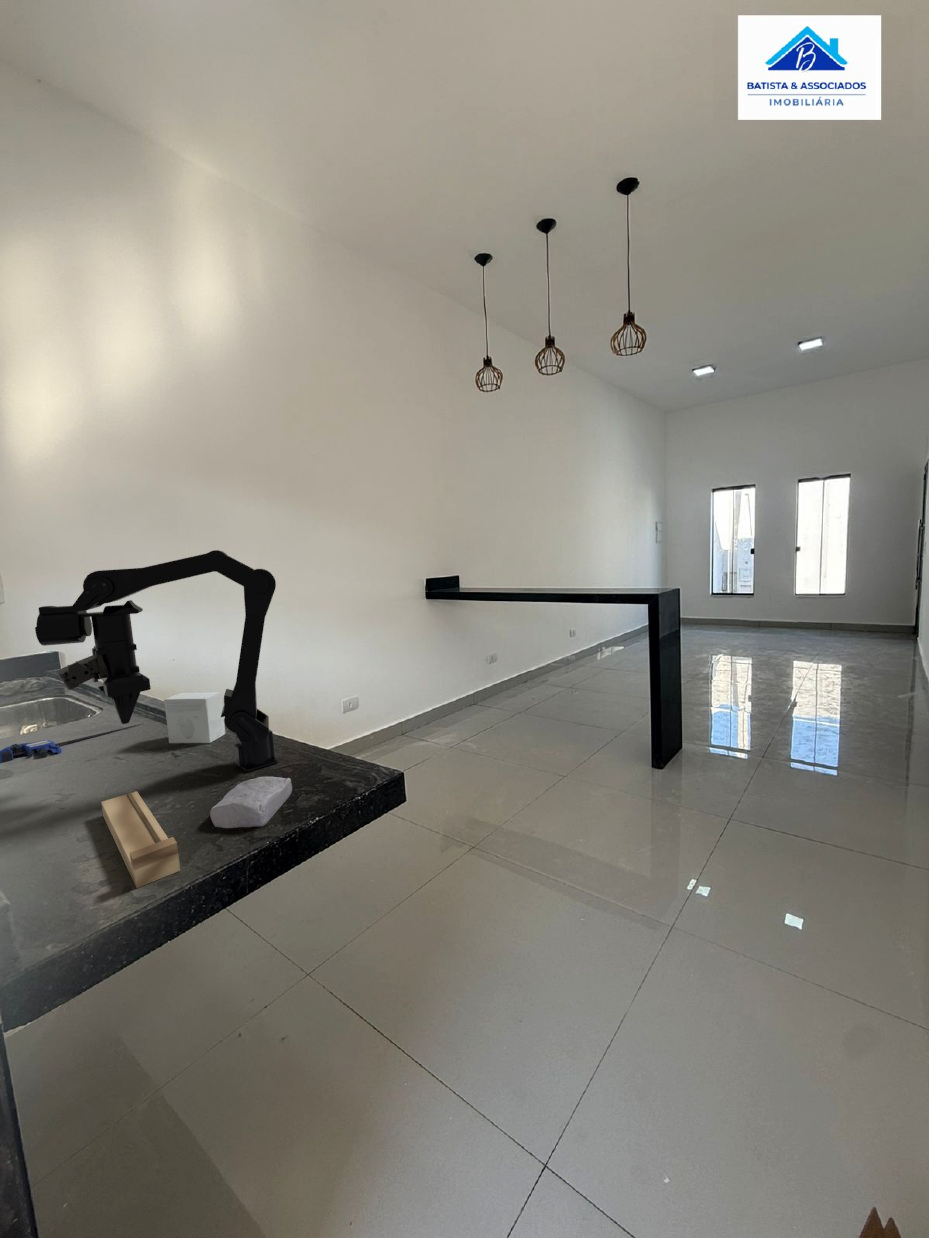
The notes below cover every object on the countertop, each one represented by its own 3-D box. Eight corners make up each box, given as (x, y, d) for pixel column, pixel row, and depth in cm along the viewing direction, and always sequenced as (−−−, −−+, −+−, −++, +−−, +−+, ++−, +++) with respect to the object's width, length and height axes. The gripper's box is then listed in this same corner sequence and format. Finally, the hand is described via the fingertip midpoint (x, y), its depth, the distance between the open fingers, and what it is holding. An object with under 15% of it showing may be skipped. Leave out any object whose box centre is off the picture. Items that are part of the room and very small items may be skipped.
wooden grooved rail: (138, 804, 86) (135, 782, 86) (180, 870, 67) (176, 842, 67) (103, 815, 83) (99, 793, 82) (136, 888, 64) (132, 859, 63)
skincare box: (226, 733, 120) (222, 691, 119) (210, 743, 114) (205, 699, 113) (186, 733, 122) (181, 691, 120) (167, 743, 115) (162, 699, 114)
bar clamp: (4, 758, 104) (-8, 748, 110) (5, 770, 104) (-7, 759, 110) (170, 719, 130) (153, 713, 136) (170, 728, 130) (154, 722, 136)
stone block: (208, 840, 78) (268, 827, 77) (199, 811, 78) (259, 798, 77) (245, 804, 90) (298, 793, 89) (238, 779, 89) (291, 768, 89)
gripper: (52, 641, 92) (64, 723, 94) (62, 653, 78) (77, 749, 80) (124, 632, 99) (134, 709, 101) (145, 642, 86) (156, 730, 88)
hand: (125, 723), depth 92 cm, fingers closed
